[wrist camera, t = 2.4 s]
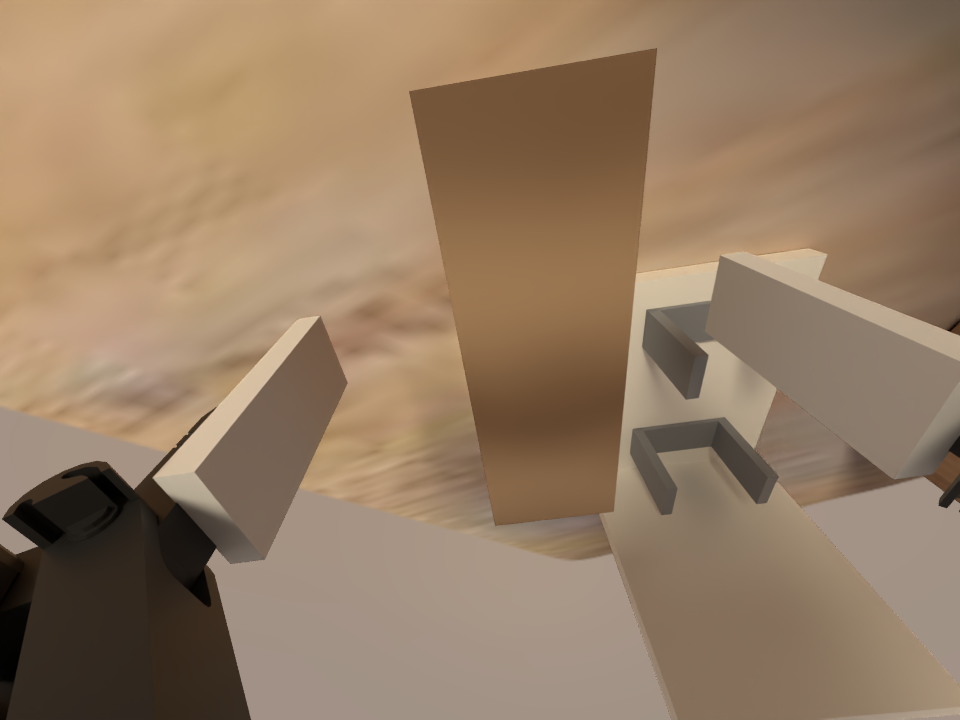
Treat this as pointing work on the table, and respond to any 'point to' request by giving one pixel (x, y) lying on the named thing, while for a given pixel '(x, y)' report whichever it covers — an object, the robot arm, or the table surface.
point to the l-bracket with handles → (741, 541)
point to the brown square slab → (542, 267)
